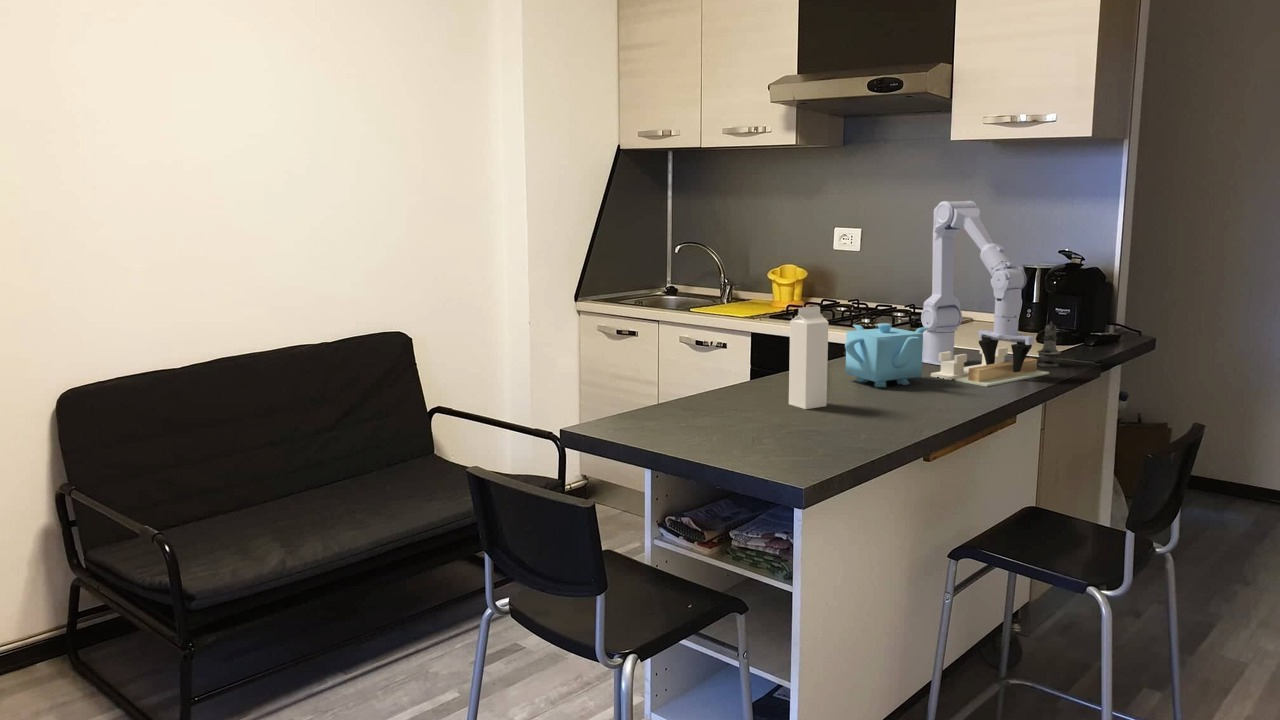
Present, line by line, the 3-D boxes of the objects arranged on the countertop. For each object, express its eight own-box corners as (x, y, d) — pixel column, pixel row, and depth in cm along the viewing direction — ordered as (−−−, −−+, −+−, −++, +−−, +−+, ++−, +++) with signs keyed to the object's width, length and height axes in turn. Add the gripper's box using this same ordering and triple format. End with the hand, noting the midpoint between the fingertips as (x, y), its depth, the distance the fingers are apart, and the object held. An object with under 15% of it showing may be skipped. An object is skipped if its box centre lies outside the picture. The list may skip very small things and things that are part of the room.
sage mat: (955, 380, 240) (955, 378, 239) (1017, 369, 254) (1018, 367, 254) (986, 386, 232) (986, 384, 232) (1049, 374, 247) (1049, 372, 247)
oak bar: (968, 380, 238) (968, 368, 237) (1025, 369, 251) (1026, 357, 251) (978, 382, 235) (979, 370, 235) (1036, 370, 249) (1037, 359, 248)
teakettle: (839, 387, 233) (841, 327, 231) (851, 373, 251) (852, 317, 248) (920, 392, 227) (923, 330, 224) (926, 377, 244) (929, 320, 242)
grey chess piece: (1056, 363, 262) (1059, 319, 260) (1063, 367, 256) (1066, 322, 254) (1033, 363, 263) (1036, 319, 261) (1040, 367, 257) (1043, 322, 255)
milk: (826, 406, 213) (829, 307, 209) (805, 409, 210) (807, 309, 206) (808, 401, 218) (811, 304, 214) (787, 404, 216) (790, 306, 212)
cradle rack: (930, 376, 246) (931, 353, 245) (993, 364, 260) (994, 343, 259) (950, 379, 241) (951, 357, 240) (1012, 368, 255) (1014, 346, 254)
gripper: (971, 314, 244) (969, 367, 247) (1022, 320, 232) (1019, 375, 235) (988, 312, 248) (986, 364, 250) (1040, 318, 236) (1036, 372, 239)
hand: (1003, 369), depth 243 cm, fingers open, 7 cm apart
